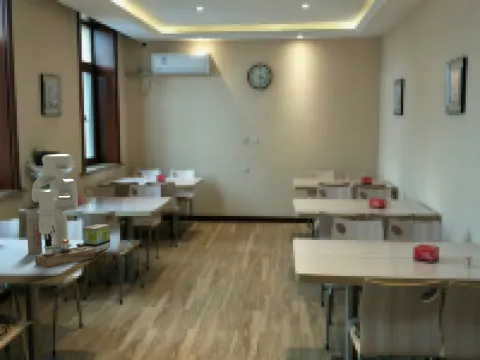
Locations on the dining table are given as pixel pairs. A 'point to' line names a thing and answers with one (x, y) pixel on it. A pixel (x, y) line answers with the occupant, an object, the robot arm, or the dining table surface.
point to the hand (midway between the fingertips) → (48, 246)
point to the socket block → (64, 257)
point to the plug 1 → (48, 251)
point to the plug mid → (65, 245)
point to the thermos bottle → (33, 231)
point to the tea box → (97, 237)
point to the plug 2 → (80, 246)
